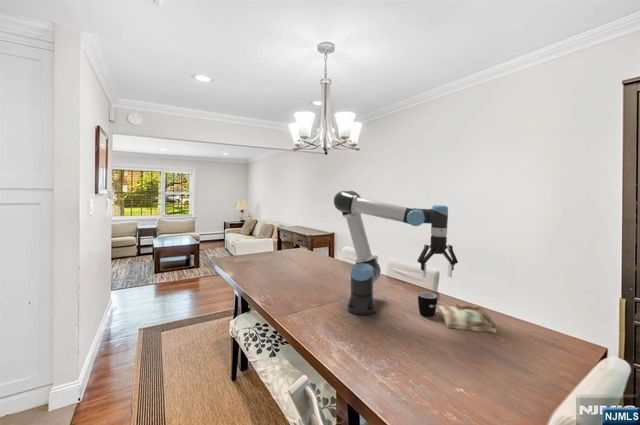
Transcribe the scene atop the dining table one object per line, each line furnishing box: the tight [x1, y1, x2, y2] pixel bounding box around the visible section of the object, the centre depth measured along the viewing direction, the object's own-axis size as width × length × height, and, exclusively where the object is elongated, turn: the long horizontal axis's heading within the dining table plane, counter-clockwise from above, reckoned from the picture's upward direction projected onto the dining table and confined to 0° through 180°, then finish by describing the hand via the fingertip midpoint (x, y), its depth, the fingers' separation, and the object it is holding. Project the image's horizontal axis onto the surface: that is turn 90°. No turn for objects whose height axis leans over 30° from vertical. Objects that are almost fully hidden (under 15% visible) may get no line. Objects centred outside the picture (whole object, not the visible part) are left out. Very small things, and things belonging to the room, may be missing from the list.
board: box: [438, 304, 498, 334], centre depth 132 cm, size 20×21×4 cm
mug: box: [417, 291, 438, 318], centre depth 139 cm, size 12×9×10 cm
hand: (436, 276), depth 140 cm, fingers open, 13 cm apart
